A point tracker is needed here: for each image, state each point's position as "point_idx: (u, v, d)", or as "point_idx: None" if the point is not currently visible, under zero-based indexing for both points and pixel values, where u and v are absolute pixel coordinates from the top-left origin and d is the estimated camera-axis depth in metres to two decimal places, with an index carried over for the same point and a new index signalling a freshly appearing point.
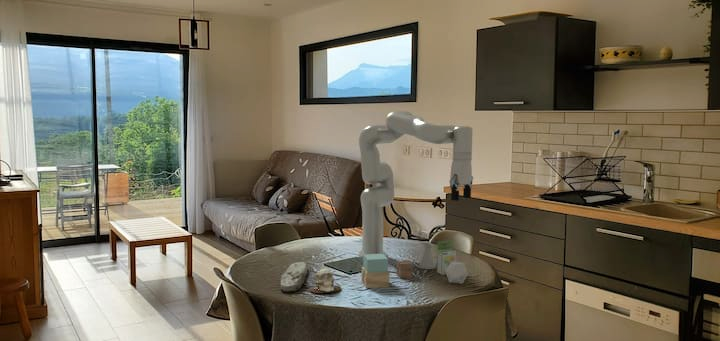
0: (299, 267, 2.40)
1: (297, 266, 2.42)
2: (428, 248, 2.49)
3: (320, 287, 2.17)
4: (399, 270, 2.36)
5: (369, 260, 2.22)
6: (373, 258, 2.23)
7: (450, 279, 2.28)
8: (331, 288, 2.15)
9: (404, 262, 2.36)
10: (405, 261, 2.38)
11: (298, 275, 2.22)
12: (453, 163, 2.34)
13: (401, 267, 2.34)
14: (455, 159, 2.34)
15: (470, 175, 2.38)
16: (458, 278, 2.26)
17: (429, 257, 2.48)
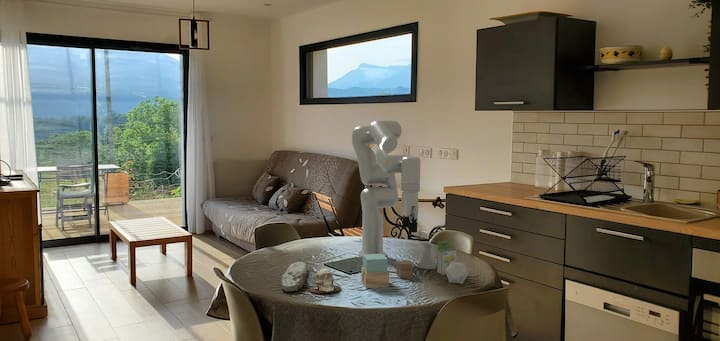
0: (299, 267, 2.40)
1: (297, 266, 2.42)
2: (428, 248, 2.49)
3: (320, 287, 2.17)
4: (399, 270, 2.36)
5: (368, 260, 2.22)
6: (373, 258, 2.23)
7: (450, 279, 2.28)
8: (331, 288, 2.15)
9: (404, 262, 2.36)
10: (405, 261, 2.38)
11: (299, 275, 2.22)
12: (410, 195, 2.30)
13: (401, 267, 2.34)
14: (410, 191, 2.30)
15: None
16: (458, 278, 2.26)
17: (429, 257, 2.48)
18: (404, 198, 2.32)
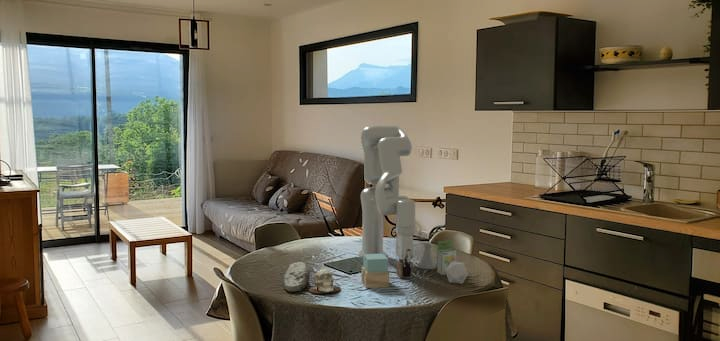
0: (299, 267, 2.40)
1: (297, 266, 2.42)
2: (428, 248, 2.49)
3: (319, 287, 2.16)
4: (399, 270, 2.36)
5: (369, 260, 2.22)
6: (373, 258, 2.23)
7: (450, 279, 2.28)
8: (330, 288, 2.15)
9: None
10: (405, 261, 2.38)
11: (302, 275, 2.22)
12: (405, 238, 2.31)
13: (401, 267, 2.34)
14: (405, 234, 2.32)
15: None
16: (458, 278, 2.26)
17: (429, 257, 2.48)
18: (399, 241, 2.34)
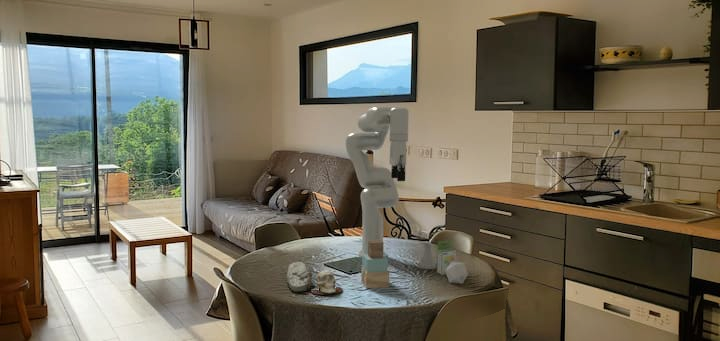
0: (299, 267, 2.40)
1: (297, 266, 2.41)
2: (428, 248, 2.49)
3: (321, 288, 2.15)
4: (369, 249, 2.24)
5: (369, 260, 2.21)
6: (373, 258, 2.23)
7: (450, 279, 2.28)
8: (333, 289, 2.13)
9: (375, 241, 2.25)
10: (377, 240, 2.27)
11: (306, 275, 2.22)
12: (398, 144, 2.36)
13: (371, 246, 2.23)
14: (398, 140, 2.37)
15: None
16: (458, 278, 2.26)
17: (429, 257, 2.48)
18: (392, 148, 2.39)
